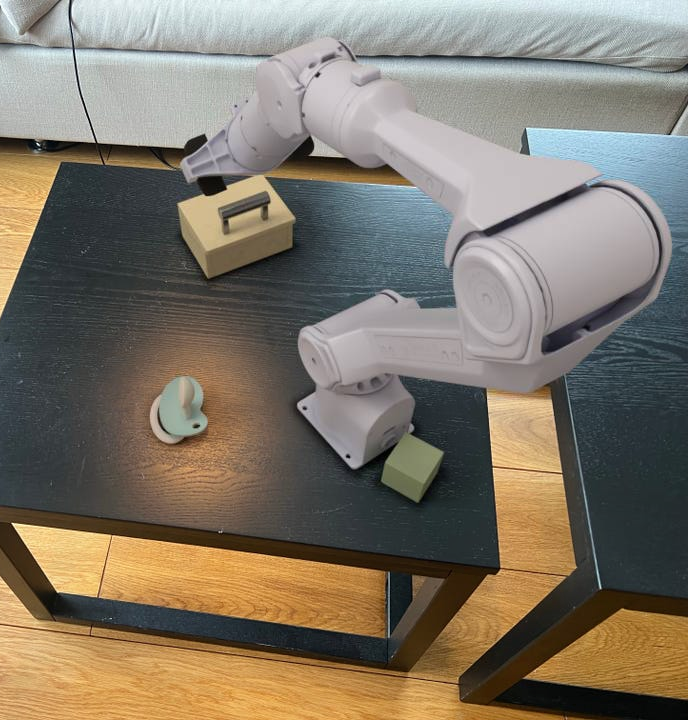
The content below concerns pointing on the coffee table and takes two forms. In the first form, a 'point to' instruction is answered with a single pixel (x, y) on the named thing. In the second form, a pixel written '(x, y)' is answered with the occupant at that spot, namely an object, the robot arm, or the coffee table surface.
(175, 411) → the pacifier
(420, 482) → the block
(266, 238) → the wooden box
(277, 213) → the lid
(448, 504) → the coffee table surface
